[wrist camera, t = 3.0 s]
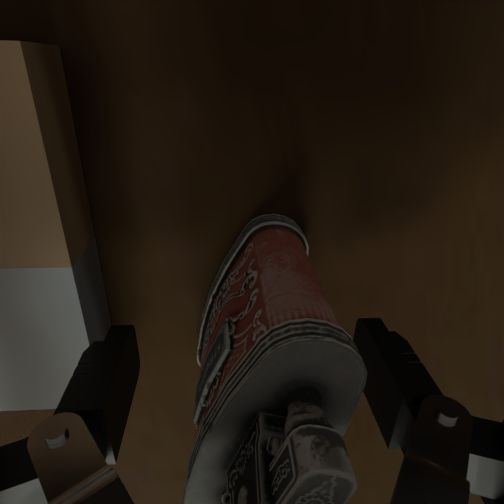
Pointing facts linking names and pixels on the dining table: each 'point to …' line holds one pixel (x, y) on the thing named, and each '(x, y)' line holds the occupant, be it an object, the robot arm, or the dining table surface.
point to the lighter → (272, 379)
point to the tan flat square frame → (43, 234)
